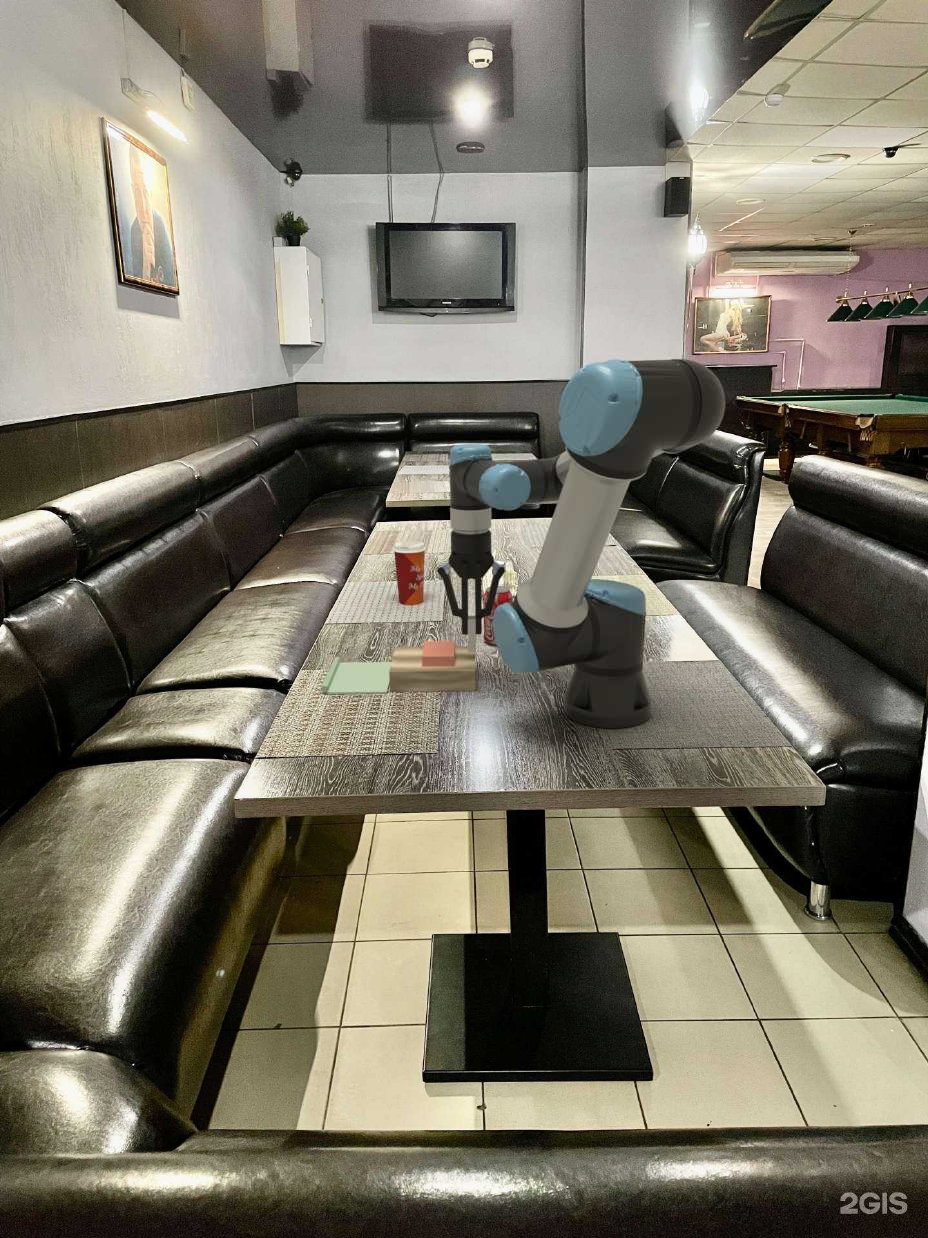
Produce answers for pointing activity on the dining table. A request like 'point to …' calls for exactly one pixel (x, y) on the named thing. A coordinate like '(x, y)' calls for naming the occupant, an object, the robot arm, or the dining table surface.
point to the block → (438, 653)
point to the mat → (357, 678)
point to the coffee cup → (410, 571)
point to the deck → (431, 672)
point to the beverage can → (501, 597)
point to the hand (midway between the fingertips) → (471, 649)
